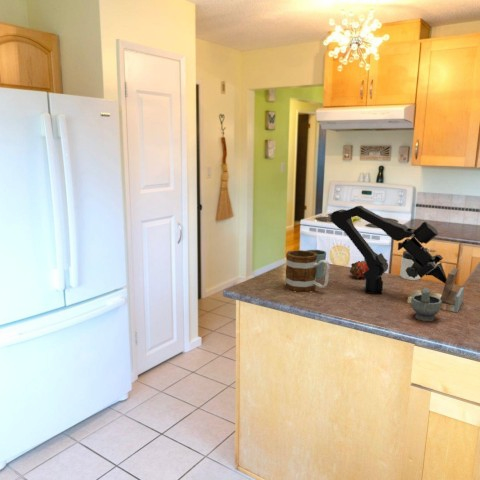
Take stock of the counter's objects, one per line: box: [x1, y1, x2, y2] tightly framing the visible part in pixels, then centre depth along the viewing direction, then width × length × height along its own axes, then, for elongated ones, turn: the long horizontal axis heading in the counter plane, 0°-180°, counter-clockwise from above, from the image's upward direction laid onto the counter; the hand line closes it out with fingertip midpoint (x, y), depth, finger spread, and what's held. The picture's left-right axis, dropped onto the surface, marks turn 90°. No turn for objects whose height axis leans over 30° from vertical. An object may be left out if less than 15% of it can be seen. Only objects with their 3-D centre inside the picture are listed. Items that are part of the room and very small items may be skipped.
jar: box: [399, 250, 421, 281], centre depth 199 cm, size 9×8×12 cm
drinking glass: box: [305, 249, 327, 280], centre depth 199 cm, size 10×10×12 cm
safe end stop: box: [453, 286, 465, 313], centre depth 161 cm, size 1×13×6 cm, turn 146°
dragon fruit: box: [349, 260, 369, 279], centre depth 200 cm, size 8×8×12 cm
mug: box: [284, 249, 330, 293], centre depth 181 cm, size 20×14×15 cm
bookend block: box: [441, 267, 459, 305], centre depth 162 cm, size 5×10×11 cm, turn 146°
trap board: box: [407, 289, 455, 312], centre depth 167 cm, size 16×12×2 cm
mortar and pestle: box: [410, 287, 442, 322], centre depth 150 cm, size 11×9×12 cm
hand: (446, 282), depth 163 cm, fingers closed, pressing on bookend block
